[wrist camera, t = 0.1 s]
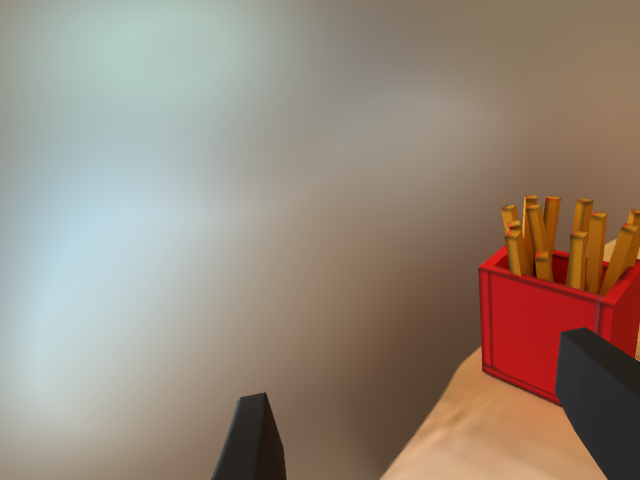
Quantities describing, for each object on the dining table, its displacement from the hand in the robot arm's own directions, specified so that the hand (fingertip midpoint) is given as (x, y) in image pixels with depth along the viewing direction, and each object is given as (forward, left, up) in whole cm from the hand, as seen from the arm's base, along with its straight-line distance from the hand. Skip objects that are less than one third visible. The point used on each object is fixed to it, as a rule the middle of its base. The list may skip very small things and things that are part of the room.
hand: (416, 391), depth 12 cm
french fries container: (+21, -15, -22) cm, 34 cm away
